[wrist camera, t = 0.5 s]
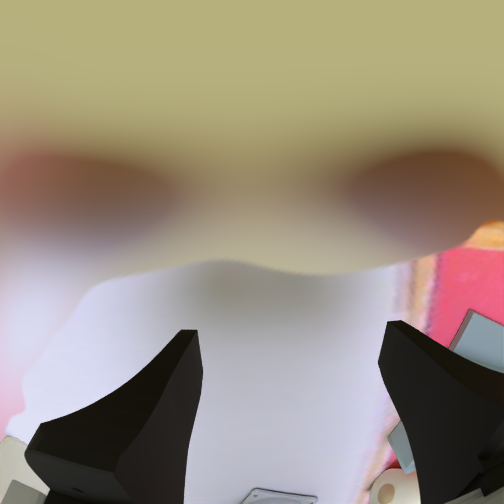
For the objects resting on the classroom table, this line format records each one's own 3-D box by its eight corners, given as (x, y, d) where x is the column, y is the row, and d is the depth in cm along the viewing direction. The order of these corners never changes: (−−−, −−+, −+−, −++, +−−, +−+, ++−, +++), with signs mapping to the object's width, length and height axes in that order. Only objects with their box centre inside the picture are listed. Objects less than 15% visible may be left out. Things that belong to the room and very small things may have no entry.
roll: (455, 458, 27) (474, 490, 21) (426, 488, 28) (440, 519, 22) (394, 457, 26) (411, 498, 20) (362, 489, 28) (374, 528, 21)
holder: (480, 445, 27) (496, 467, 22) (385, 440, 25) (400, 474, 20) (544, 346, 24) (568, 363, 19) (469, 309, 22) (502, 331, 18)
